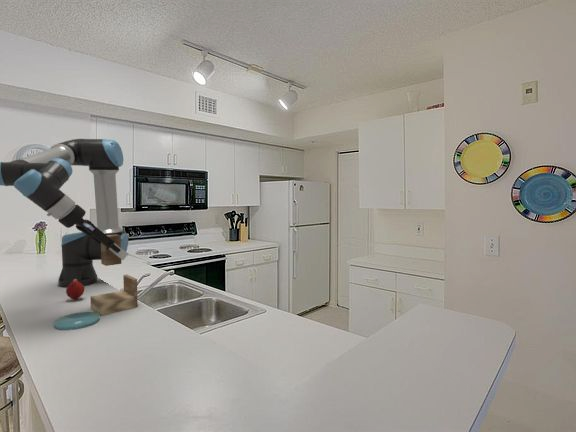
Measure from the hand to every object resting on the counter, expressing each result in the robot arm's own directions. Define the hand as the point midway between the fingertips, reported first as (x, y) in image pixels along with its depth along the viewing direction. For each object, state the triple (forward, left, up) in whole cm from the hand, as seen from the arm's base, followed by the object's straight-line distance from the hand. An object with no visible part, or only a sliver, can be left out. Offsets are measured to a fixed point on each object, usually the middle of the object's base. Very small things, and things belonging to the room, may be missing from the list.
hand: (122, 255), depth 119 cm
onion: (-10, -20, -18) cm, 29 cm away
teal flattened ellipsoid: (+15, -9, -18) cm, 25 cm away
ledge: (+2, -3, -18) cm, 19 cm away
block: (+2, -3, -2) cm, 4 cm away
